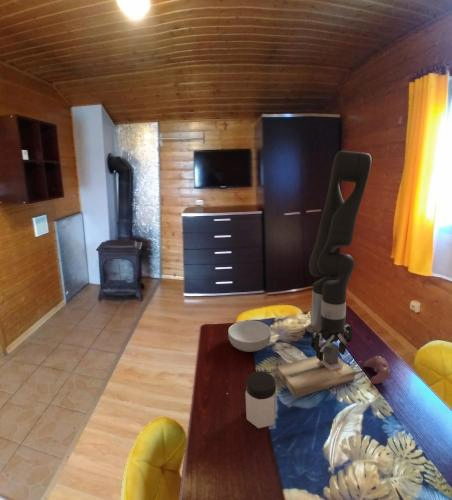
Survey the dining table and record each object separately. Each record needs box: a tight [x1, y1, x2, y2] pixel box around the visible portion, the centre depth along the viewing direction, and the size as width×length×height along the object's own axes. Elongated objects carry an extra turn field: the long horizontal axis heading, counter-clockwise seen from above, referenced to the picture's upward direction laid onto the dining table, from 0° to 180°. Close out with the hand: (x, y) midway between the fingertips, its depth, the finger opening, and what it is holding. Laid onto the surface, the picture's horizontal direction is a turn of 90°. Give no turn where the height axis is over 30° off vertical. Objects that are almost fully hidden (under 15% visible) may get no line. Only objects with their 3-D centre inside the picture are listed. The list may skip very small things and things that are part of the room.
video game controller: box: [363, 355, 391, 385], centre depth 100 cm, size 10×5×7 cm, turn 169°
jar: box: [245, 371, 277, 429], centre depth 85 cm, size 9×8×12 cm
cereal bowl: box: [227, 319, 272, 353], centre depth 119 cm, size 17×17×7 cm
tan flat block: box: [276, 353, 356, 399], centre depth 101 cm, size 12×22×3 cm, turn 109°
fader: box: [319, 342, 343, 371], centre depth 101 cm, size 6×5×7 cm
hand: (330, 356), depth 102 cm, fingers open, 8 cm apart
